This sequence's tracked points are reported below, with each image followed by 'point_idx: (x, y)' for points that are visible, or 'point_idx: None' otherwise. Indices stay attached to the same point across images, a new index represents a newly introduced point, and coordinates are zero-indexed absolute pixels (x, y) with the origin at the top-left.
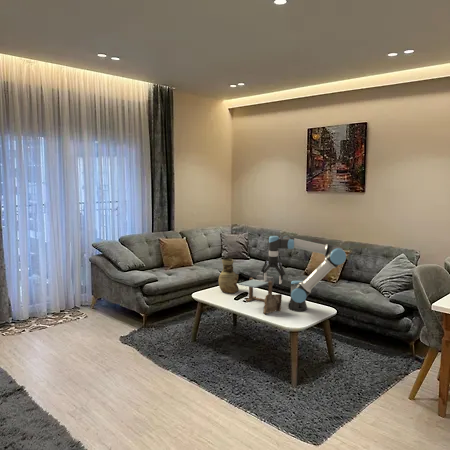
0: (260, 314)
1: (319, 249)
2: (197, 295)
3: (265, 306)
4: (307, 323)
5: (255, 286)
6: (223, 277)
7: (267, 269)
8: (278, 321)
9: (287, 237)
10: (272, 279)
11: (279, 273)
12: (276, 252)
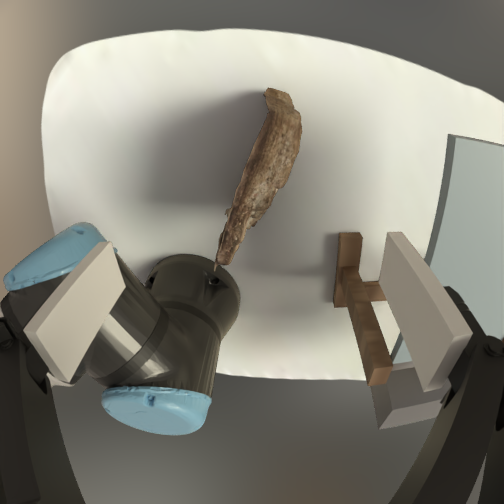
0: (299, 77)
1: None
2: None
3: (280, 102)
4: (47, 152)
5: (456, 148)
6: None
7: (423, 464)
8: (145, 58)
9: None
10: (381, 410)
11: (15, 372)
12: None
